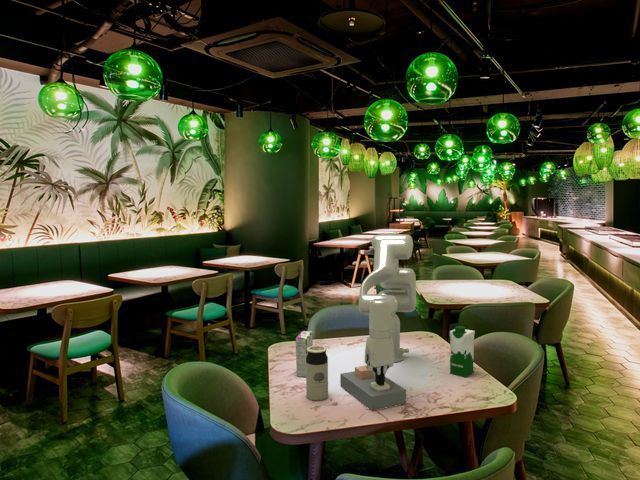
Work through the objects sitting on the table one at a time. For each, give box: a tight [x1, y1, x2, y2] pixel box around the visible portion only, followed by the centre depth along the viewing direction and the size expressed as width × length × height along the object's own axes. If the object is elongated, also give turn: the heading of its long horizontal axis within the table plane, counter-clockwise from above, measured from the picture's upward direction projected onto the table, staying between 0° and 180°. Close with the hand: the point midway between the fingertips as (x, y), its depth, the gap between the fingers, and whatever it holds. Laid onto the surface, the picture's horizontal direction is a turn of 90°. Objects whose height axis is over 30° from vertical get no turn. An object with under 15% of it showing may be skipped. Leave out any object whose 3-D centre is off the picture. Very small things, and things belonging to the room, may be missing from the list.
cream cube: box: [371, 382, 390, 391], centre depth 162 cm, size 5×5×5 cm
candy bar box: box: [295, 330, 314, 378], centre depth 191 cm, size 11×5×16 cm, turn 168°
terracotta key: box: [354, 364, 373, 380], centre depth 173 cm, size 5×5×5 cm
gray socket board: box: [339, 370, 407, 411], centre depth 167 cm, size 14×24×5 cm, turn 24°
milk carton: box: [449, 325, 476, 378], centre depth 187 cm, size 9×9×20 cm
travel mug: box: [305, 345, 329, 401], centre depth 166 cm, size 8×8×18 cm
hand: (380, 384), depth 161 cm, fingers closed
